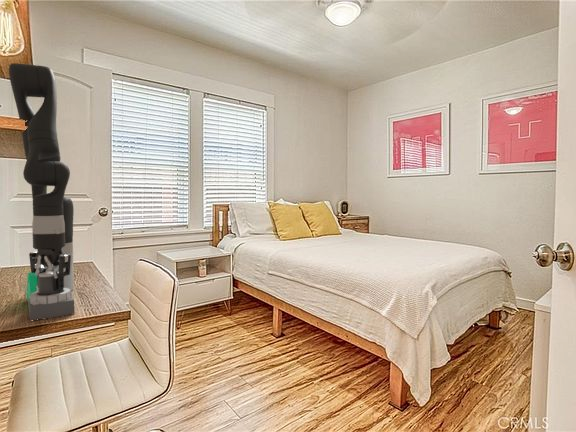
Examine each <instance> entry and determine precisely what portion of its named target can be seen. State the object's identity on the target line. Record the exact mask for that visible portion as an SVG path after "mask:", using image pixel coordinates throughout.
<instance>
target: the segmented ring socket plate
mask: <svg viewBox="0 0 576 432" xmlns="http://www.w3.org/2000/svg"><path fill="white" fill-rule="evenodd" d="M27 303H28V304H27V306H28V307H27V308H28V309H27V310H28V311H29V312H28V311H27V312H28V317H29V316H30V317H29V322H30V321H31V320H37V319H43V318H49V319H54V318H58V316H60V317H63V316H62V315H65V316H68V315H67V314H70V315H73V314H72V313H74V314H75V299H74V298H73V296H72V291H71V290H70V289H69V288H64V289H63V290H61V291H60V293H59V294H55V295H47V296H40V295H39V293H38V290H37V291H36V292H33V293H31V294H30V298H28V300H27ZM53 317H54V318H53ZM43 320H44V319H43Z"/></svg>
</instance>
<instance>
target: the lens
mask: <svg viewBox="0 0 576 432" xmlns="http://www.w3.org/2000/svg"><path fill="white" fill-rule="evenodd" d="M58 273H59V272H58ZM54 278H55V277H54V275H53V272H44V273H40V274H39V276H38V286H37V291H38V293H39V295H40V296H47V295H55V294H59V293H60V291H54Z"/></svg>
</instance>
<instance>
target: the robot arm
mask: <svg viewBox="0 0 576 432" xmlns="http://www.w3.org/2000/svg"><path fill="white" fill-rule="evenodd" d="M8 76H9V82H10V85H11V90H12V94H13V97H14V98H13V99H14V101H15V105H16V110H17V113H18V114H17V115H18V118H19V120H20V119H23V120H25V121H26V120H28V121H27V122H25V126H28V128H27V129H26V130H25V131H24V132H22V131H21V137H22V142H23V143H22V144H23V149H24V155H25V159H26V162H25V165H24V169H23V179H24V180H25V182H26V183H27V184H29V185H30V186H31V196H32V198H31V199H32V223H31V227H32V228H31V229H32V231H31V232H32V248H33V250H37V251H33V252H29V253H28V255H29V256H28V258H29V265H30V266H29V267H30V273H35V275H36V276H37V282H38V276H39V274H40V273H44V272H53V275H54V277H55V278H54V291H61V290H63V289H64V288H69V289H70V290H71V292H72V291H73V290H75V285H74V284H75V281H74V279H75V275H74V244H73V243H74V242H73V241H74V240H73V239H74V237H73V236H74V215H75V214H74V209H75V208H74V202H73V201H72V199H71V198H70V197H67V196H66V197H65V193H66V190H67V185H68V183H69V181H70V177H71V176H70V174H71V171H70V168H69V166H68V165H67V164H66V163H65V162H62V161H61V152H60V145H59V139H58V133H57V104H58V103H57V100H58V98H57V97H58V96H57V94H58V93H57V84H56V78H55V74H54V72H53V70H52V68H51V67H48V66H44V65H39V64H36V65H35V64H28V63H27V64H26V63H17V62H14V63H11V64H9V66H8ZM28 98H43V99H44V100H43V102H42V104H41V106H40V107H39V108H38V110H37V111H36V112H35V111H34V109H33V108H32V106H31V104H30V102H29V99H28ZM48 187H54V189H53V190H52V191H51V192H47V191H48ZM58 272H59V273H58ZM37 285H38V283H37Z"/></svg>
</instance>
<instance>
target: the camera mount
mask: <svg viewBox="0 0 576 432" xmlns="http://www.w3.org/2000/svg"><path fill="white" fill-rule="evenodd" d="M37 283H38V282H37V276H36V275H35V273H32V272H27V280H26V300H27V301H28V298H30V294H31V293H33V292H36V291H38V285H37Z"/></svg>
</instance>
